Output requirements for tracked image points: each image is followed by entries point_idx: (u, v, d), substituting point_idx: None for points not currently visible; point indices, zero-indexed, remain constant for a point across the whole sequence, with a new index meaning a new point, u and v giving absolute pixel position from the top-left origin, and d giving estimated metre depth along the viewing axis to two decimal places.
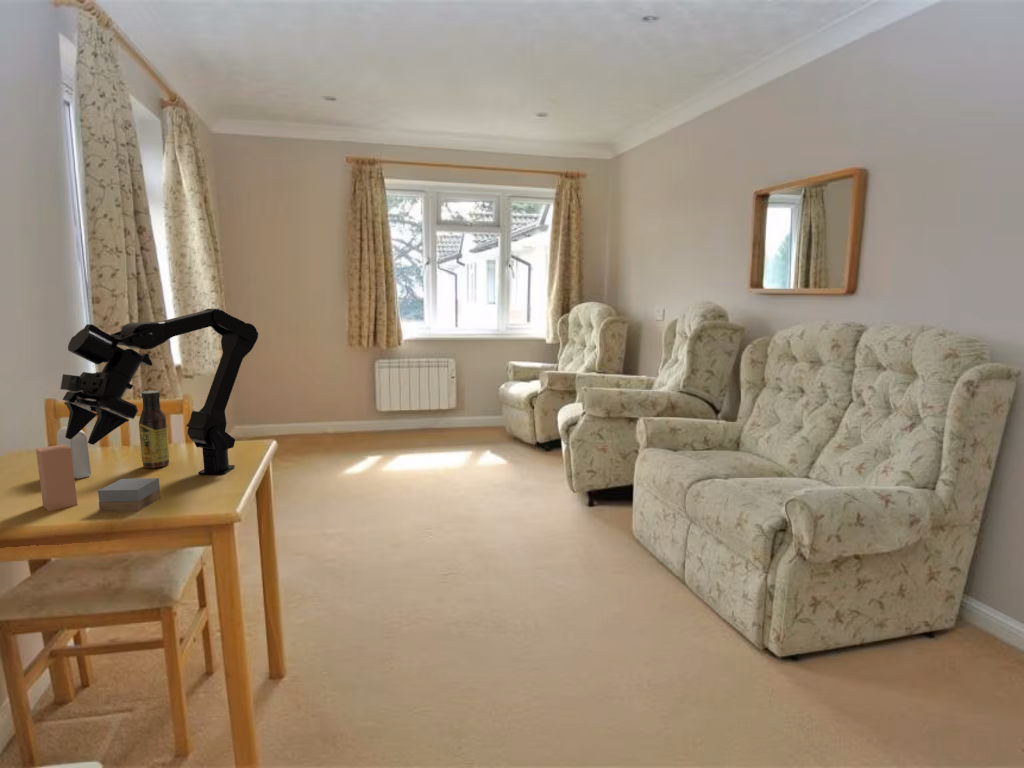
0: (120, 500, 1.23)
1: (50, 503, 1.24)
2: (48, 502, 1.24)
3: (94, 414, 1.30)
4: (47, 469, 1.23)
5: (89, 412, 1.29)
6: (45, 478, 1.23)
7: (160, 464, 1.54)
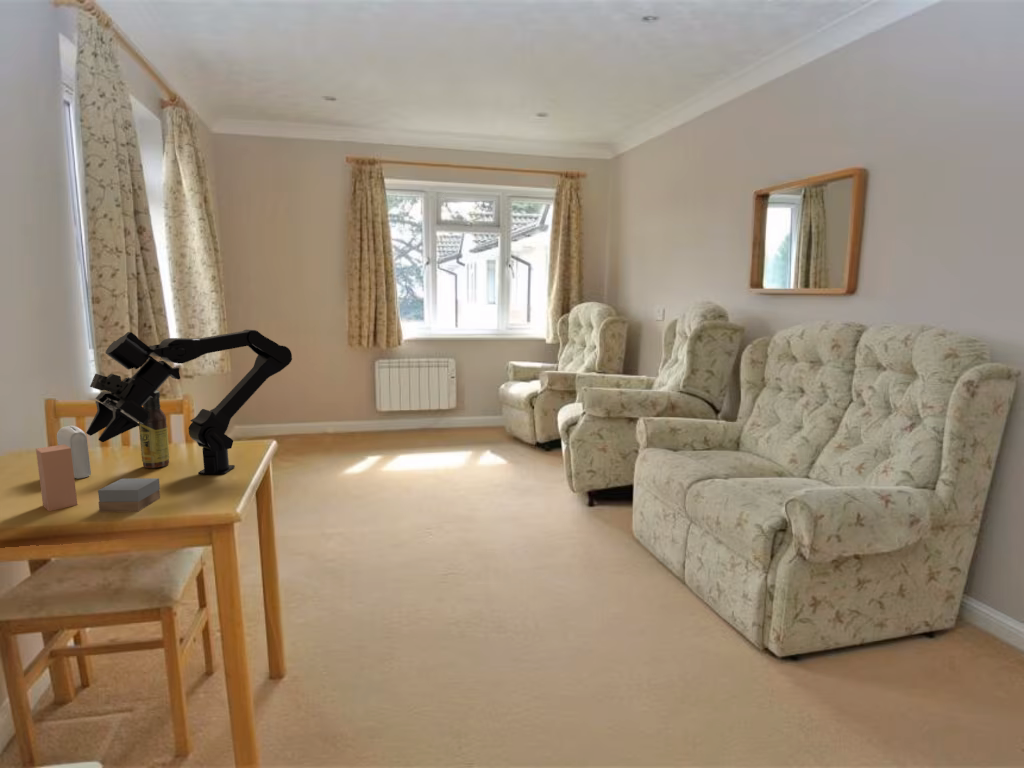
0: (120, 500, 1.23)
1: (50, 503, 1.24)
2: (48, 502, 1.24)
3: None
4: (47, 469, 1.23)
5: None
6: (45, 478, 1.23)
7: (160, 464, 1.54)
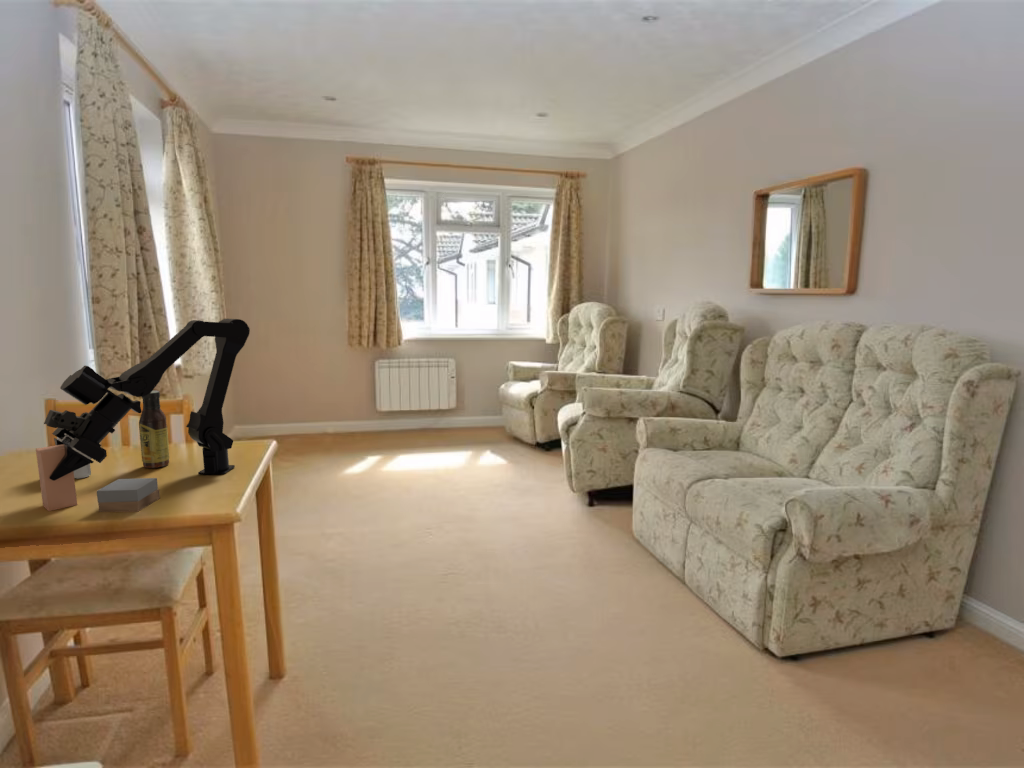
0: (119, 500, 1.23)
1: (50, 503, 1.24)
2: (48, 502, 1.24)
3: None
4: (47, 469, 1.23)
5: None
6: (45, 478, 1.23)
7: (160, 464, 1.54)
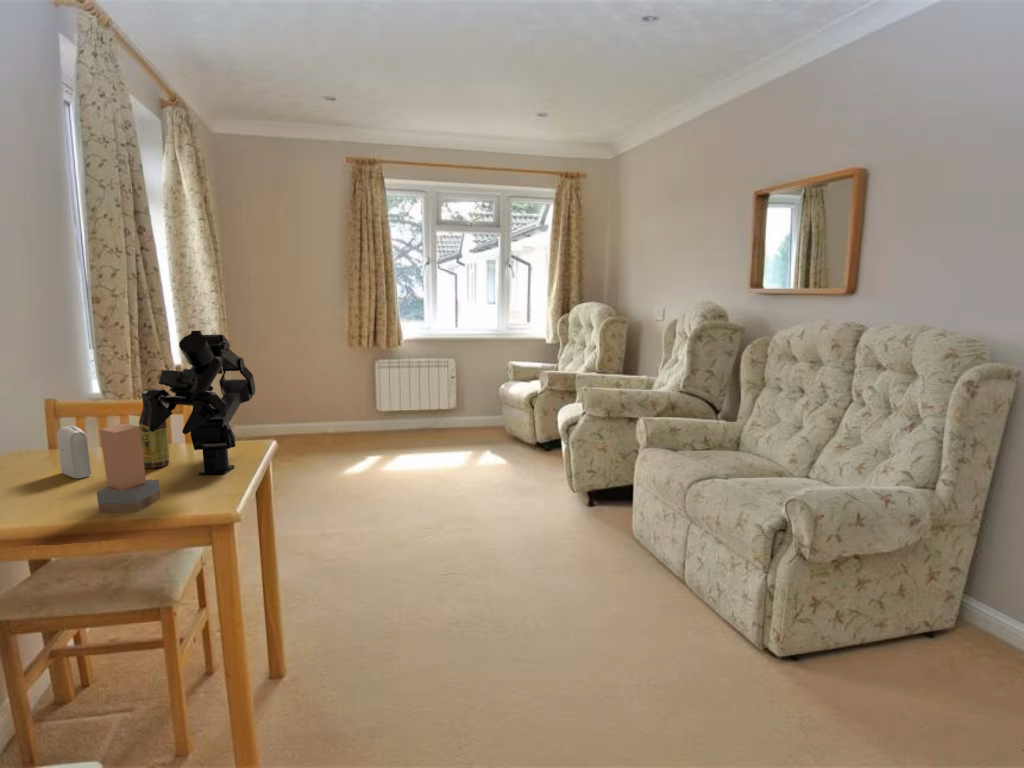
0: (118, 502, 1.23)
1: (124, 482, 1.23)
2: (122, 481, 1.23)
3: (170, 412, 1.42)
4: (120, 448, 1.22)
5: (167, 410, 1.41)
6: (119, 458, 1.22)
7: (160, 464, 1.54)
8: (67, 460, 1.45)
